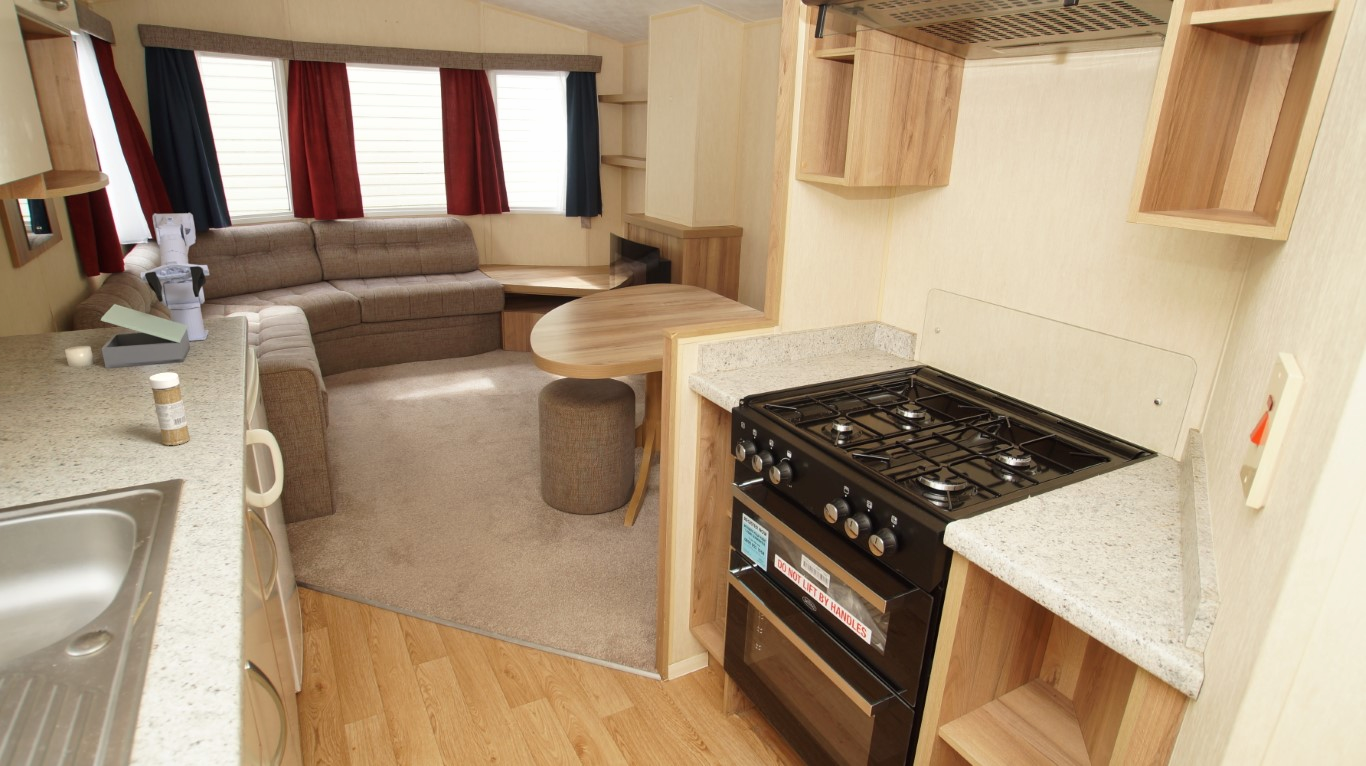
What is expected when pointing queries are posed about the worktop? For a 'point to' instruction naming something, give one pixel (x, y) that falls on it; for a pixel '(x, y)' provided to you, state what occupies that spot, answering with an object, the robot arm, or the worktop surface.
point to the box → (143, 350)
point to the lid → (145, 323)
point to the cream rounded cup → (79, 356)
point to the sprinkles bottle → (169, 408)
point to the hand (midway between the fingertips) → (178, 296)
